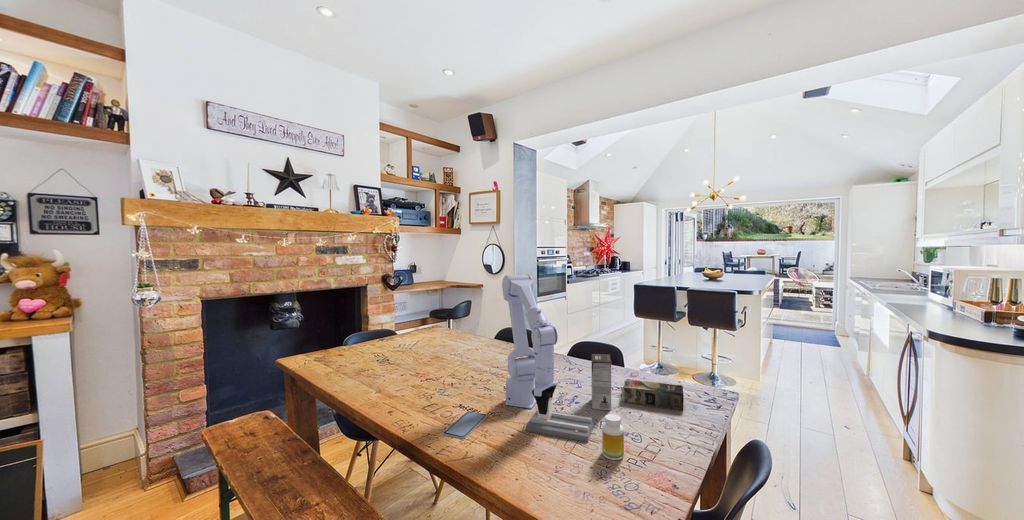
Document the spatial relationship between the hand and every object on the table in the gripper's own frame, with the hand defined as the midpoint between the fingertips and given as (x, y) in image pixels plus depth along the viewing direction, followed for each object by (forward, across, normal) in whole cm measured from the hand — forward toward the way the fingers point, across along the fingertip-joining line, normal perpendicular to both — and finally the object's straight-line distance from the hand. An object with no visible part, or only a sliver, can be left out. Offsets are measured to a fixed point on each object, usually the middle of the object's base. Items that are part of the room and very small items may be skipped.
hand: (544, 411), depth 110 cm
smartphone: (+4, -9, +22) cm, 24 cm away
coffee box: (+4, +20, -14) cm, 25 cm away
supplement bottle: (+4, -10, -21) cm, 24 cm away
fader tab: (+2, 0, 0) cm, 2 cm away
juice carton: (+4, +29, -30) cm, 42 cm away
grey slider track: (+4, 0, -5) cm, 6 cm away
